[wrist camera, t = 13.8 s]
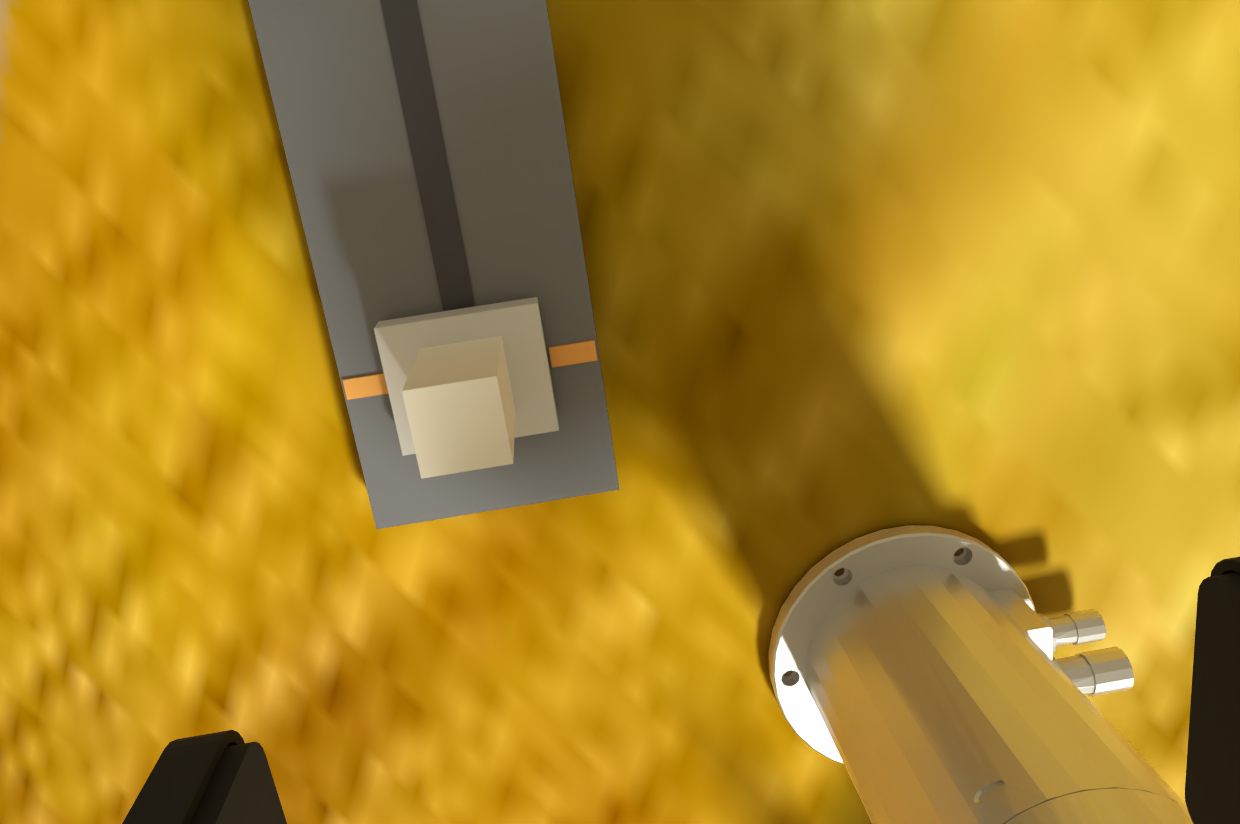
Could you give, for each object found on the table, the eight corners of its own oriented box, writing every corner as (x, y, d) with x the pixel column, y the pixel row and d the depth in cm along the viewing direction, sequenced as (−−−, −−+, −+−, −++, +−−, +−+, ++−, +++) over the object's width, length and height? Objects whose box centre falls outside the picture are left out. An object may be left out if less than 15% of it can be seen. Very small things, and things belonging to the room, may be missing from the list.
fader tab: (537, 296, 36) (538, 338, 30) (558, 420, 37) (563, 484, 31) (378, 321, 36) (346, 367, 29) (406, 444, 37) (381, 514, 31)
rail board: (510, -224, 33) (509, -245, 31) (615, 471, 41) (619, 490, 39) (218, -186, 32) (197, -204, 30) (383, 509, 41) (376, 530, 38)
